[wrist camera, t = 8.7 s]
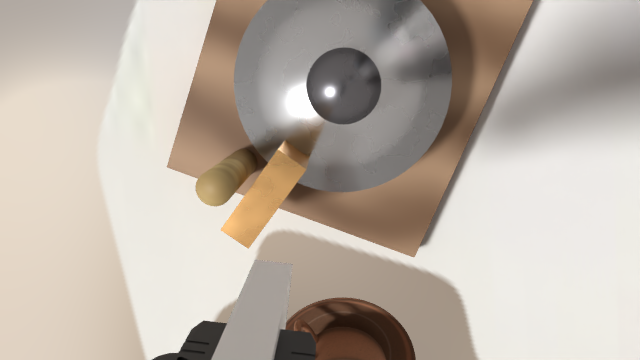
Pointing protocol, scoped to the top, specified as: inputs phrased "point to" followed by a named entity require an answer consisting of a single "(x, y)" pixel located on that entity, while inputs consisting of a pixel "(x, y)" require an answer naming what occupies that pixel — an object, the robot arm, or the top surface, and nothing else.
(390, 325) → the cup and saucer
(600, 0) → the top surface
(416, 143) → the flange plate
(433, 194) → the walnut base
